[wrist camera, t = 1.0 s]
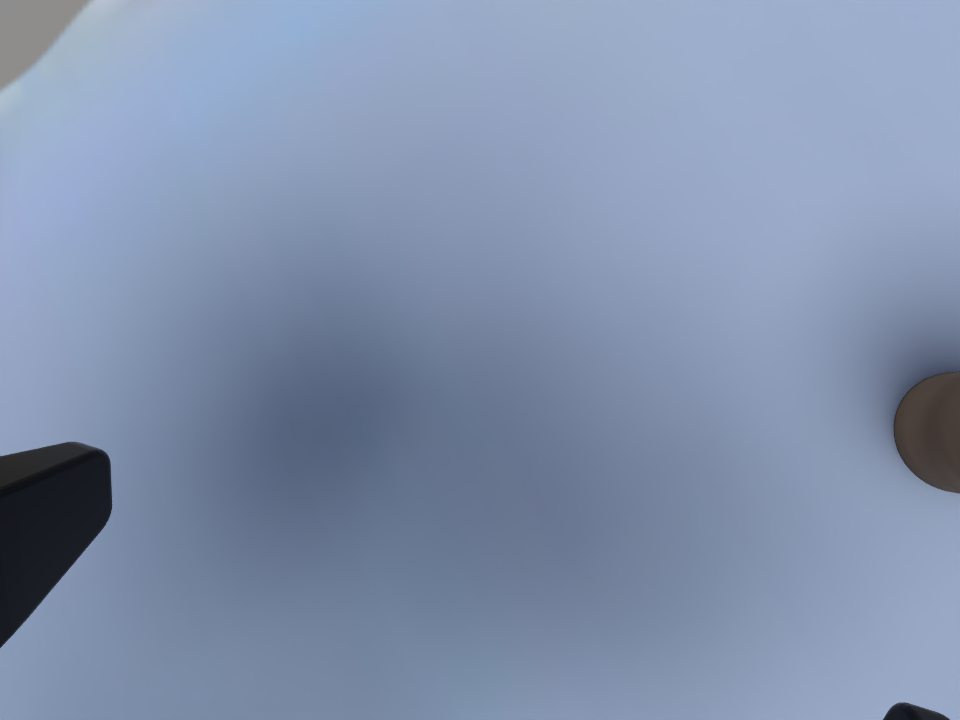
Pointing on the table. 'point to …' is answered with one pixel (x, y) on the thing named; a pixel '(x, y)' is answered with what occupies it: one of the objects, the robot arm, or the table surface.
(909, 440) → the walnut peg
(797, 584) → the table surface
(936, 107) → the table surface
